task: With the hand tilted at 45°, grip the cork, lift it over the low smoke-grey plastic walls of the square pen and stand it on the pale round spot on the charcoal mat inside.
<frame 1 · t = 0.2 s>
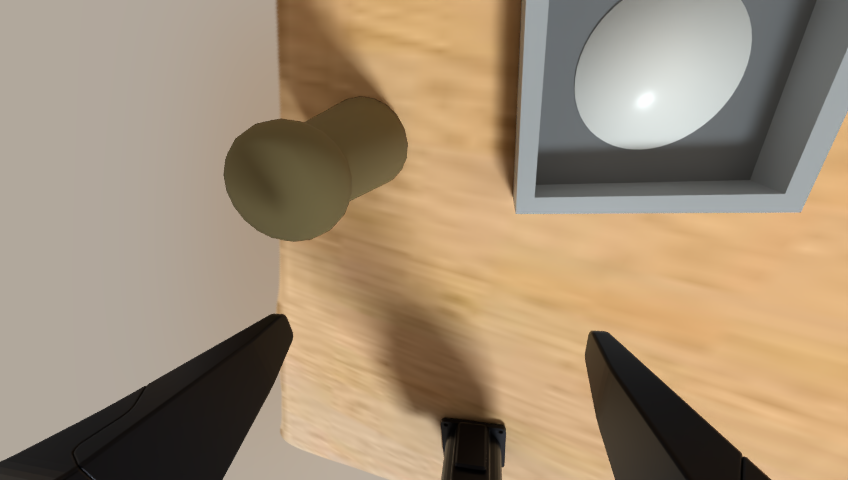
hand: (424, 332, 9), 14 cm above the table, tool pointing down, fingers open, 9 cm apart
cork: (366, 143, 22), on the table
walled pen: (652, 71, 17), on the table
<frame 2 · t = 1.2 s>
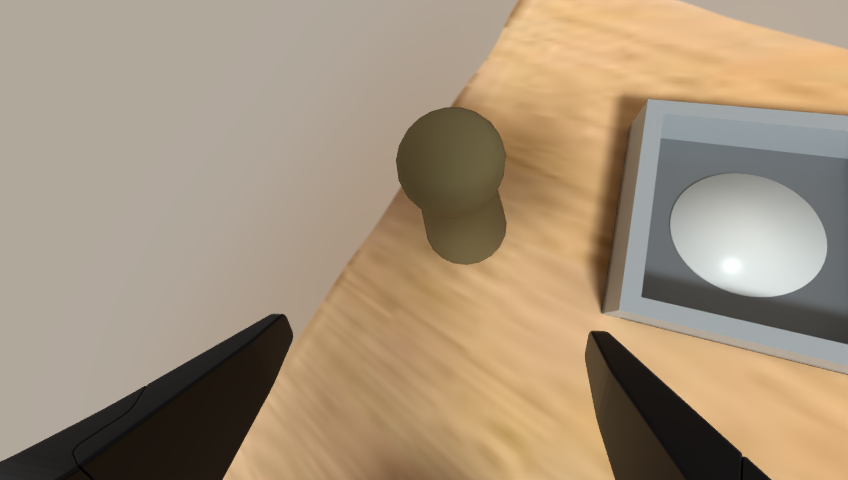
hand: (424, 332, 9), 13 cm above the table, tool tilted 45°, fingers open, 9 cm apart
cork: (465, 226, 24), on the table
walled pen: (737, 234, 20), on the table
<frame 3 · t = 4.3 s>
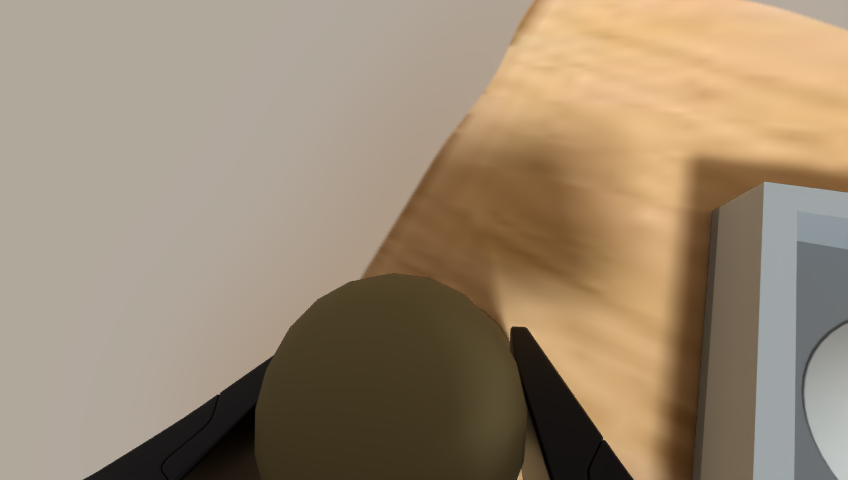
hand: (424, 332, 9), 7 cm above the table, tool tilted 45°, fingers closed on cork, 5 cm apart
cork: (450, 364, 15), on the table, touching gripper
when the fingers open (8 cm above the table, at t = 9.0 s): cork drops 1 cm, resting on walled pen.
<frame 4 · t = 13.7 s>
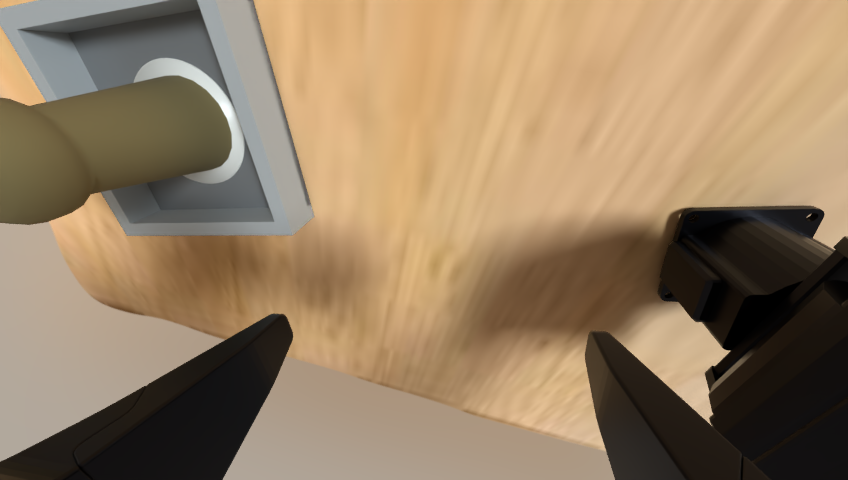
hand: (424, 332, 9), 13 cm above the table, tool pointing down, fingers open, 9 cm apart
cork: (192, 125, 22), resting on walled pen
walled pen: (195, 124, 22), on the table
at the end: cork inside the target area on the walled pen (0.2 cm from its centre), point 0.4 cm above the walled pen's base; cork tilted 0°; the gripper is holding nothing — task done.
